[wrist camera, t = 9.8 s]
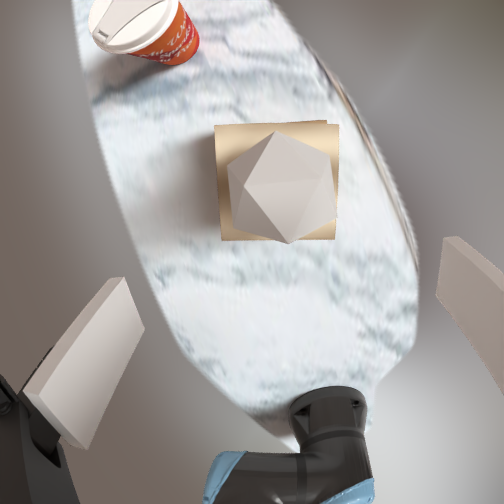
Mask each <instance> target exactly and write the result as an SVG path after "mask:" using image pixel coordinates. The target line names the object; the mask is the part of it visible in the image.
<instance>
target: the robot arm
mask: <svg viewBox="0 0 504 504" xmlns="http://www.w3.org/2000/svg"><path fill="white" fill-rule="evenodd" d="M435 296H436V297H437V298H438V300H439V301H440V302H441V303H442V305H443V306H444V307H445V309H446V310H447V311H448V313H449V314H450V315H451V317H452V318H453V319H454V321H455V322H456V323H457V325H458V326H459V327H460V329H461V330H462V332H463V333H464V334H465V336H466V337H467V339H468V340H469V342H470V343H471V345H472V346H473V347H474V349H475V350H476V352H477V353H478V355H479V356H480V358H481V359H482V361H483V362H484V364H485V366H486V367H487V369H488V370H489V372H490V373H491V375H492V377H493V378H494V380H495V381H496V383H497V384H498V386H499V388H500V390H501V391H502V393H503V395H504V274H503V273H502V272H501V271H500V270H499V269H497V268H496V267H495V266H494V265H493V264H492V263H491V262H490V261H488V260H487V259H486V258H485V257H483V256H482V255H481V254H480V253H479V252H477V251H476V250H475V249H474V248H472V247H471V246H470V245H469V244H467V243H466V242H465V241H463V240H462V239H460V238H459V237H458V236H454V237H446V238H443V246H442V256H441V264H440V271H439V277H438V284H437V290H436V295H435ZM144 330H145V328H144V326H143V324H142V321H141V319H140V316H139V314H138V311H137V309H136V306H135V304H134V301H133V299H132V296H131V294H130V291H129V288H128V285H127V283H126V280H125V277H117V278H110V279H109V280H108V281H107V282H106V283H105V284H104V285H103V287H102V288H101V289H100V290H99V291H98V292H97V294H96V295H95V296H94V297H93V299H92V300H91V301H90V302H89V303H88V305H87V306H86V307H85V308H84V309H83V310H82V312H81V313H80V314H79V315H78V317H77V318H76V319H75V320H74V322H73V323H72V324H71V325H70V327H69V328H68V329H67V330H66V332H65V333H64V335H63V336H62V337H61V338H60V340H59V341H58V342H57V344H56V345H54V346H53V347H52V348H51V349H50V350H49V351H48V352H47V354H46V355H45V356H44V358H43V361H41V362H40V363H39V365H38V366H37V367H38V368H36V369H35V370H34V371H33V373H32V374H31V376H30V377H29V378H28V380H27V381H26V383H25V384H24V386H23V387H22V389H21V390H20V392H19V393H18V394H17V395H16V393H15V392H14V391H13V389H12V388H11V387H10V385H9V384H8V383H7V381H6V380H5V379H4V377H3V376H2V375H0V504H80V502H79V499H78V496H77V494H76V491H75V488H74V485H73V482H72V479H71V475H70V472H69V469H68V465H67V462H66V458H65V455H64V450H63V448H62V446H61V444H60V443H59V442H58V440H59V438H60V436H62V437H63V438H64V439H65V441H66V442H67V443H68V444H69V445H71V446H74V447H77V448H80V449H84V450H88V448H89V445H90V443H91V441H92V438H93V436H94V434H95V432H96V429H97V427H98V425H99V423H100V421H101V418H102V416H103V414H104V412H105V410H106V407H107V405H108V403H109V401H110V399H111V397H112V395H113V392H114V390H115V388H116V386H117V384H118V382H119V380H120V378H121V376H122V374H123V372H124V370H125V368H126V366H127V364H128V362H129V359H130V357H131V356H132V354H133V351H134V350H135V348H136V346H137V344H138V342H139V340H140V338H141V336H142V334H143V332H144ZM366 416H367V405H366V401H365V397H364V396H363V394H362V393H361V392H359V391H358V390H356V389H353V388H350V387H342V386H335V387H326V388H321V389H317V390H314V391H312V392H309V393H307V394H305V395H303V396H301V397H300V398H298V399H297V400H296V401H295V402H294V403H293V404H292V405H291V407H290V409H289V424H290V427H291V429H292V431H293V433H294V435H295V438H296V440H297V442H298V444H299V446H300V453H256V452H248V451H243V452H234V451H225V452H221V453H220V454H218V455H217V456H216V458H215V459H214V461H213V463H212V465H211V468H210V470H209V473H208V476H207V480H206V484H205V488H204V496H203V501H202V504H371V503H372V502H373V500H374V497H375V493H374V478H373V476H372V471H371V466H370V461H369V456H368V452H367V447H366V443H365V438H364V430H365V423H366Z"/></svg>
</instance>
